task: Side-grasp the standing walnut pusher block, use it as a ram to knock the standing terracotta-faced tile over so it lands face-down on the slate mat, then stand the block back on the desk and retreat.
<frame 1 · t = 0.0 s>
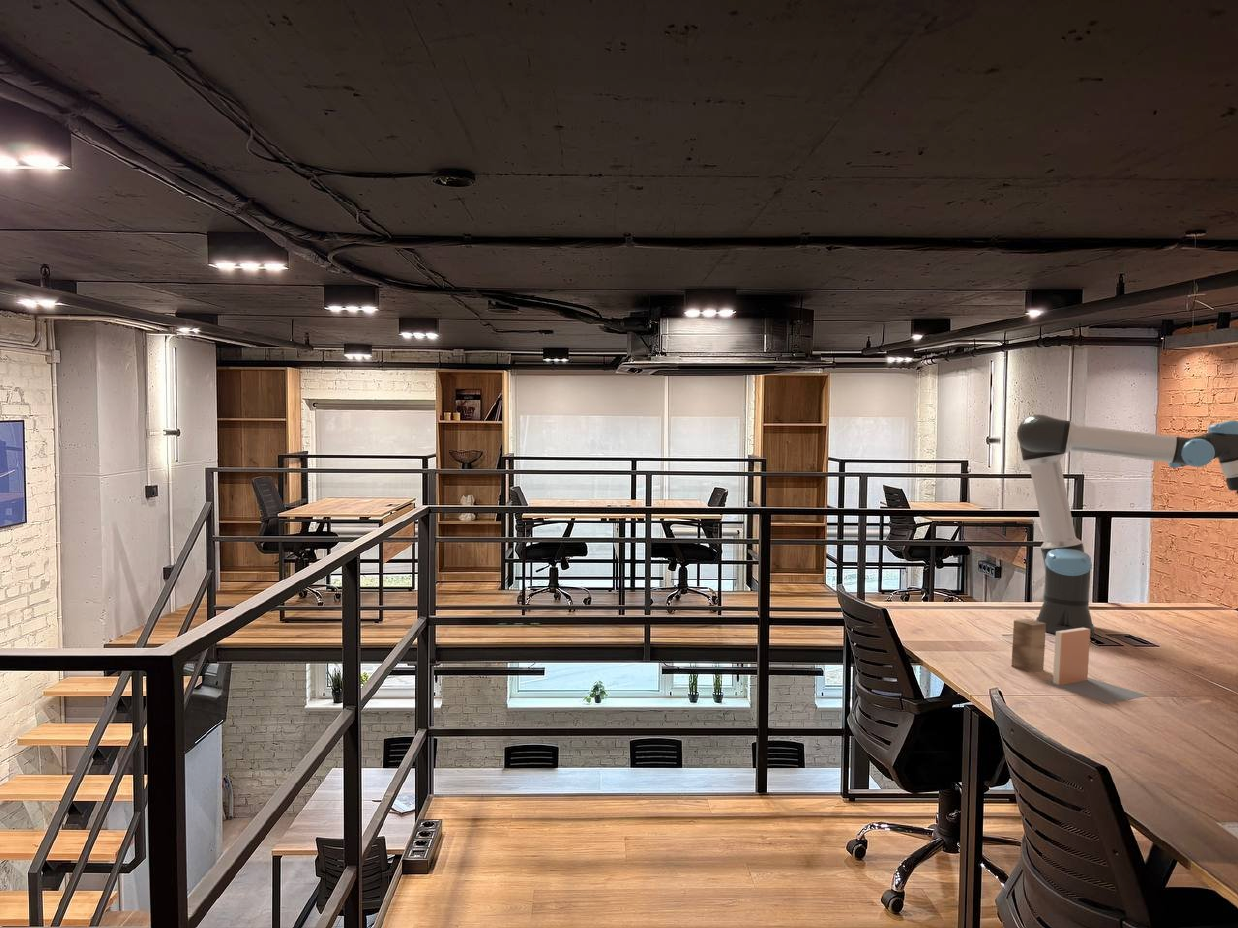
slate mat: (1094, 691, 185), on the table
tile: (1069, 681, 191), point 1 cm above the table, touching slate mat
walnut pusher block: (1027, 670, 200), on the table
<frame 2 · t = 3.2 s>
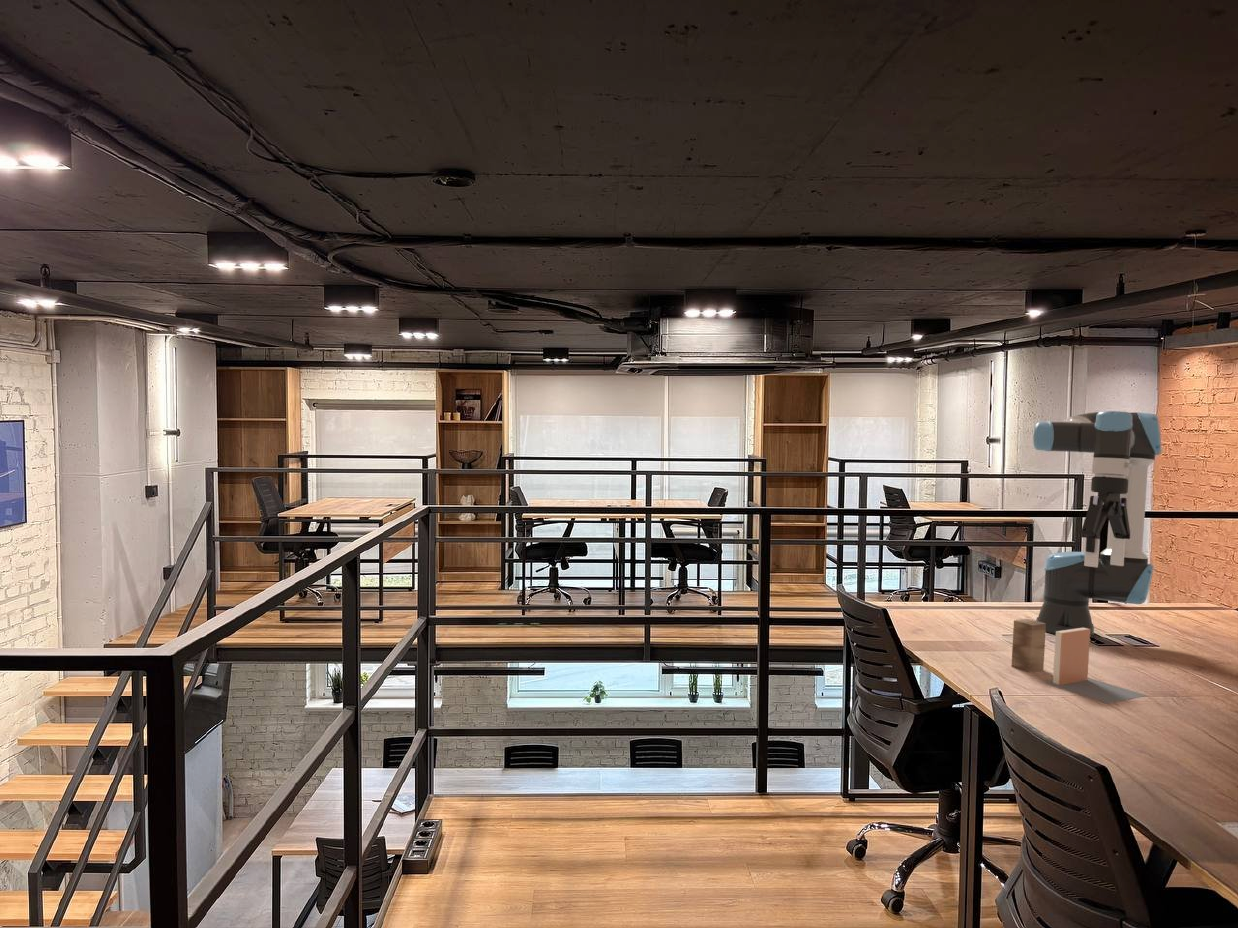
hand: (1104, 566, 195), 27 cm above the table, tool pointing down, fingers open, 13 cm apart
nothing on the table moved.
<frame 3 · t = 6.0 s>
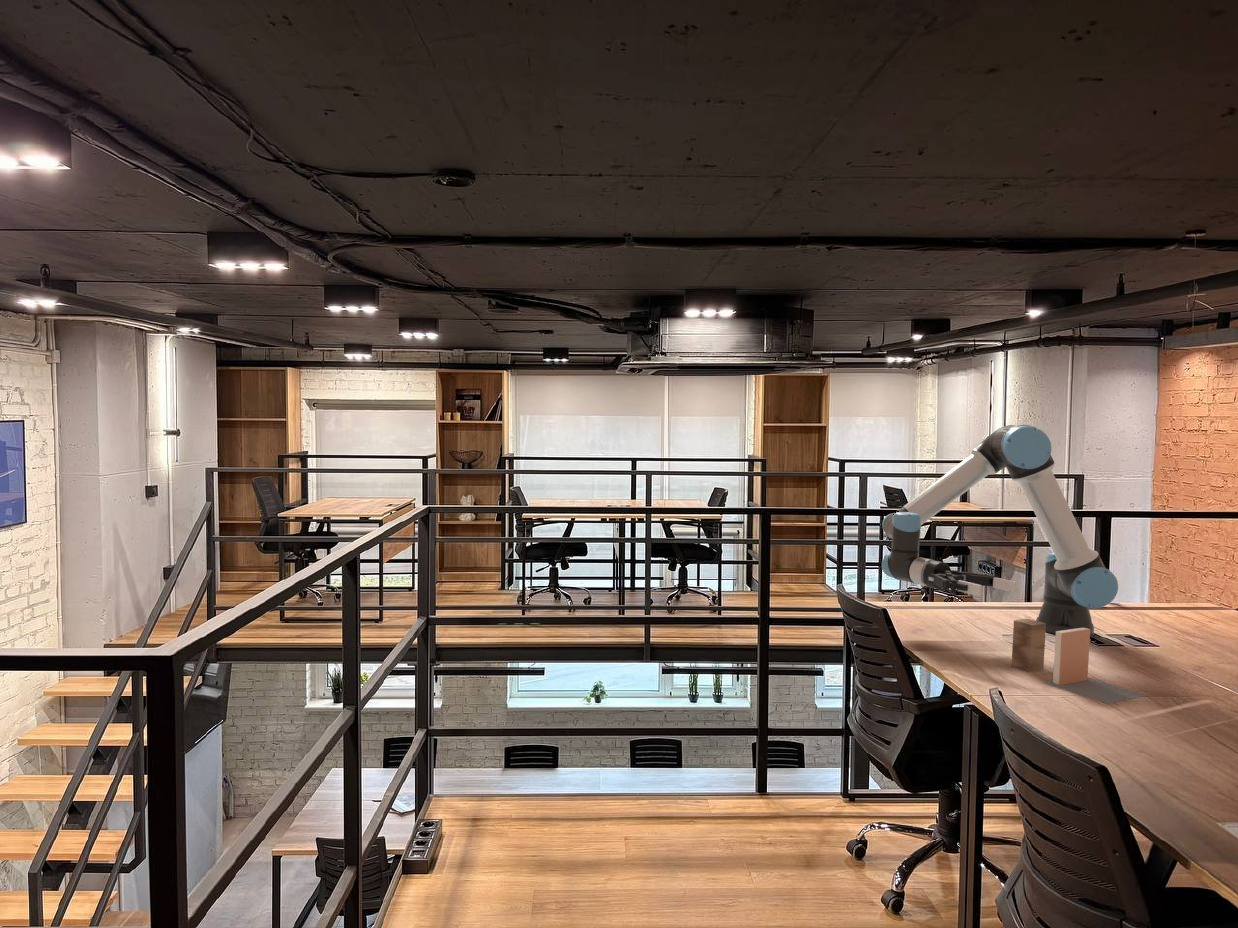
hand: (998, 588, 208), 18 cm above the table, tool horizontal, fingers open, 13 cm apart
nothing on the table moved.
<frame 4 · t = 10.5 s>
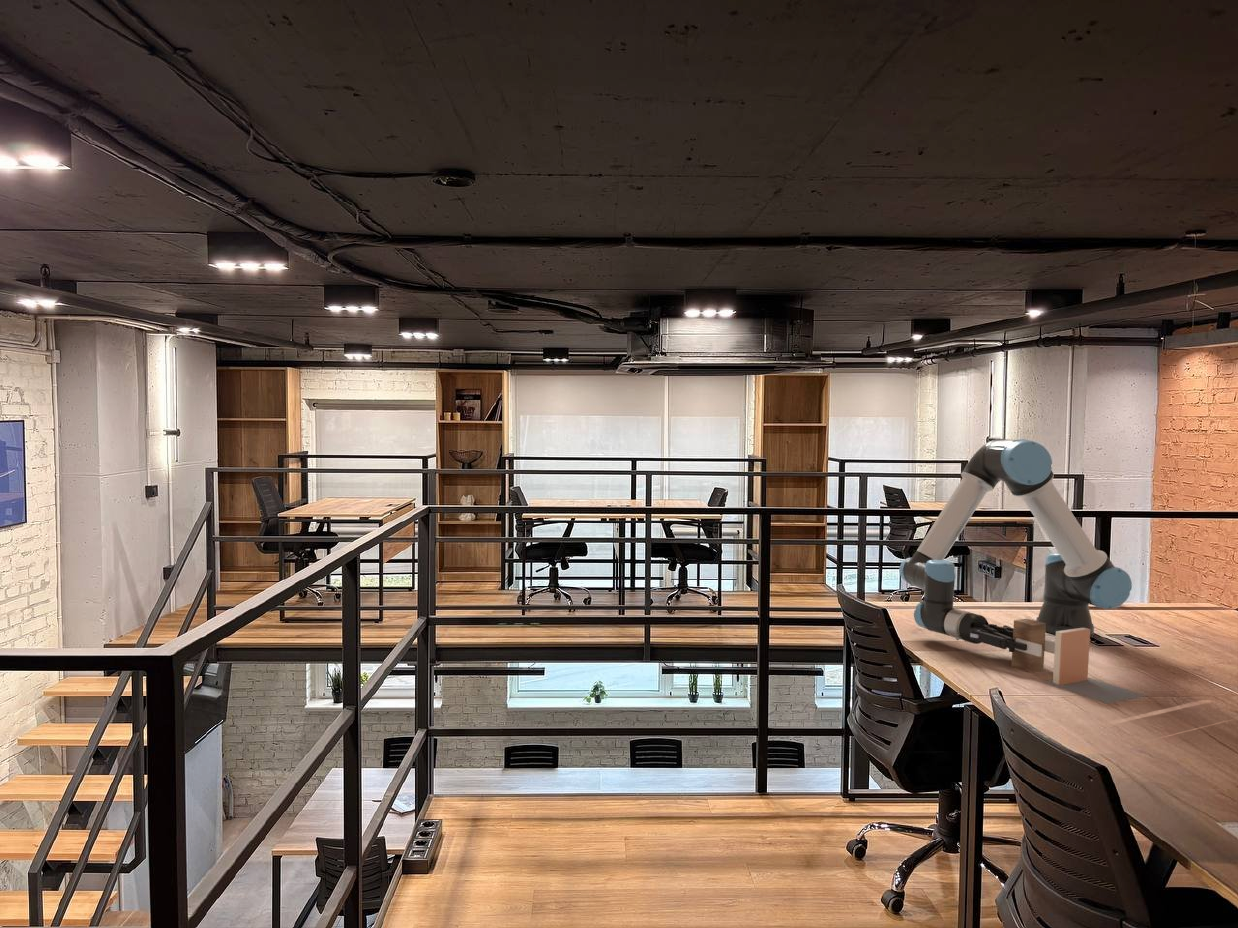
hand: (1048, 649, 195), 7 cm above the table, tool horizontal, fingers closed on walnut pusher block, 5 cm apart
walnut pusher block: (1027, 670, 200), on the table, touching gripper
everything else where it was.
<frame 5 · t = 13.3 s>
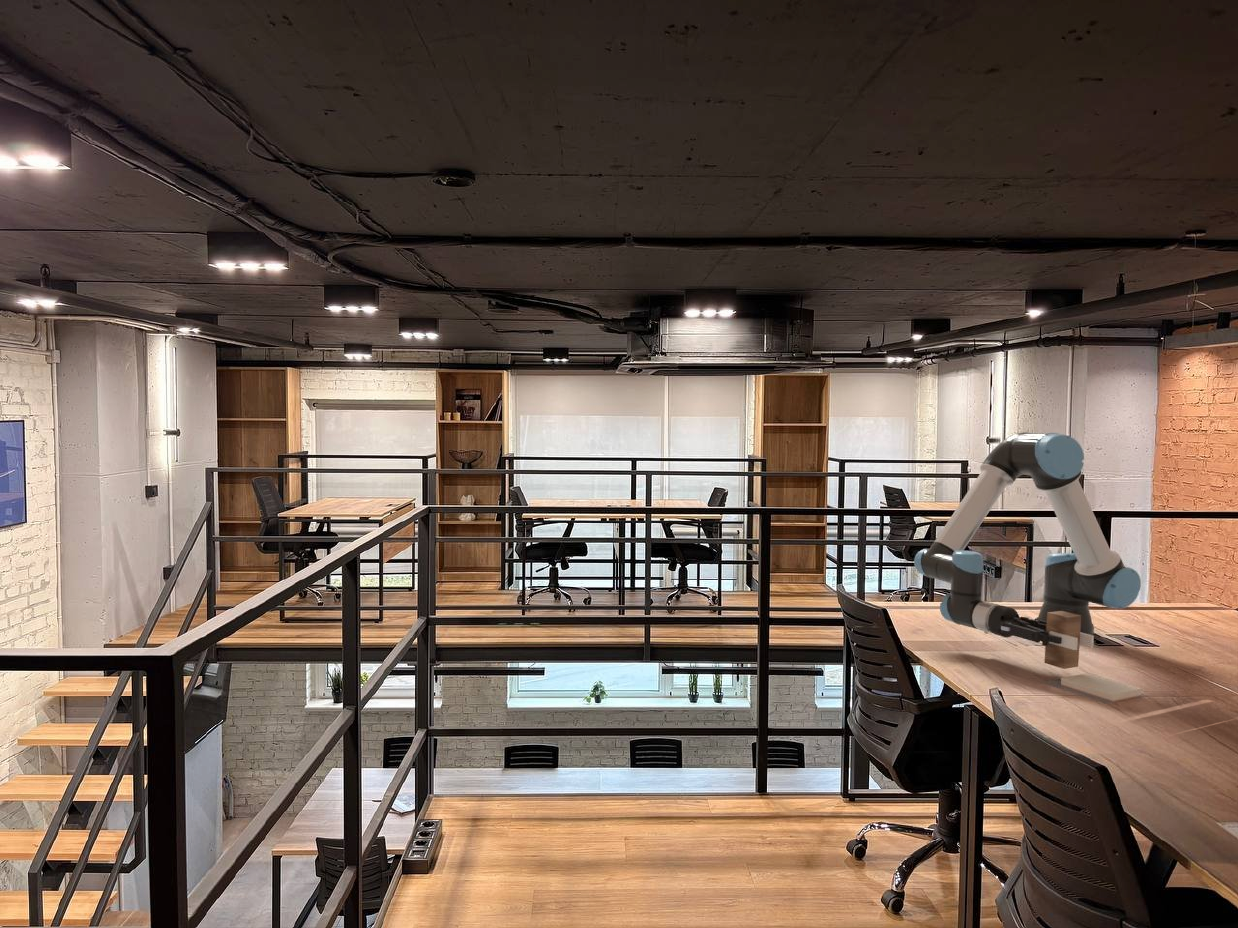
hand: (1084, 642, 187), 10 cm above the table, tool horizontal, fingers closed on walnut pusher block, 5 cm apart
tile: (1075, 678, 189), point 2 cm above the table, tilted 90°, touching slate mat
walnut pusher block: (1061, 664, 192), point 4 cm above the table, touching gripper
when the fingers open (8 cm above the table, at t = 16.5 s): walnut pusher block drops 2 cm, on the table.
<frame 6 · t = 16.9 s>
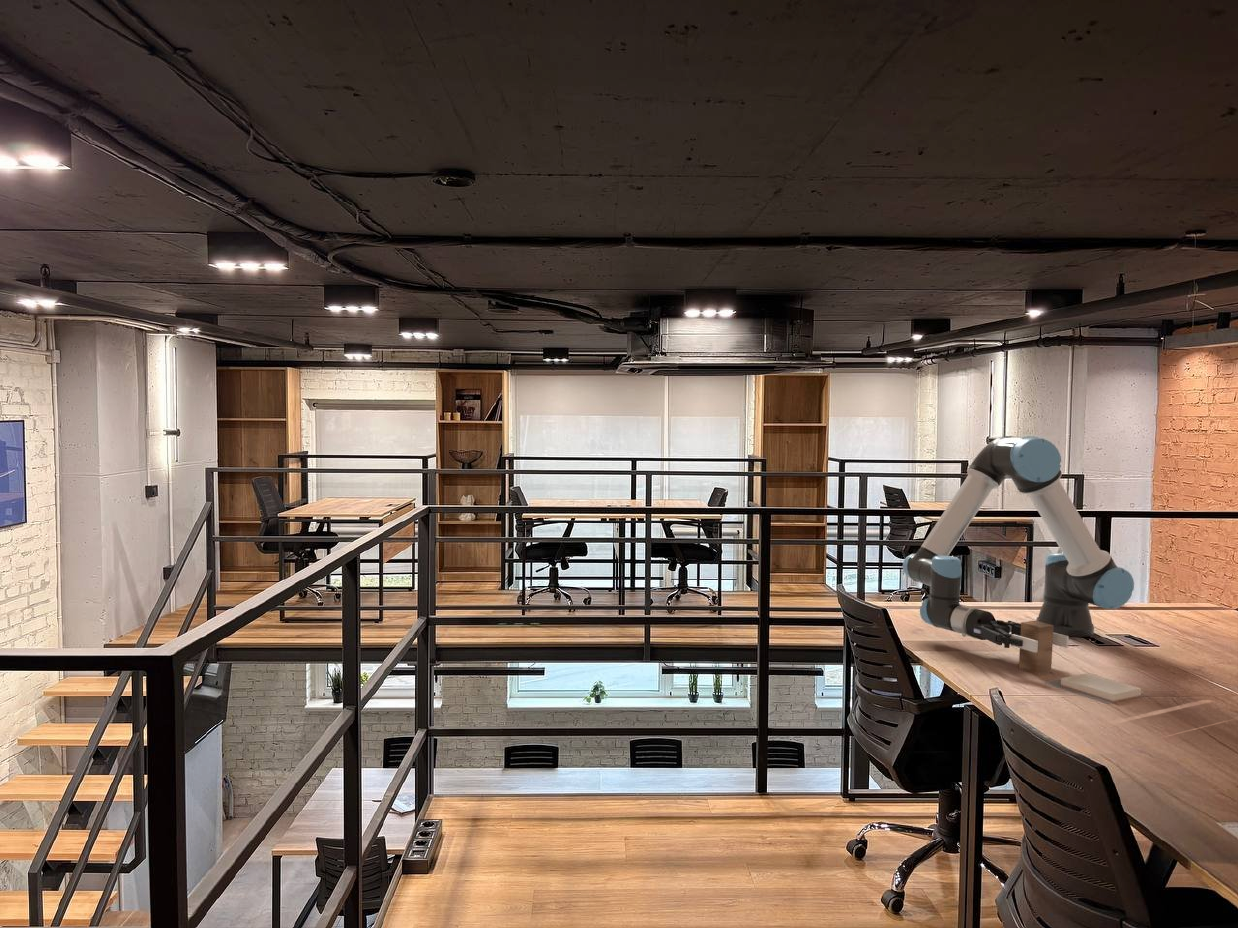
hand: (1052, 644, 194), 8 cm above the table, tool horizontal, fingers open, 10 cm apart
walnut pusher block: (1034, 672, 199), on the table
everything else where it was.
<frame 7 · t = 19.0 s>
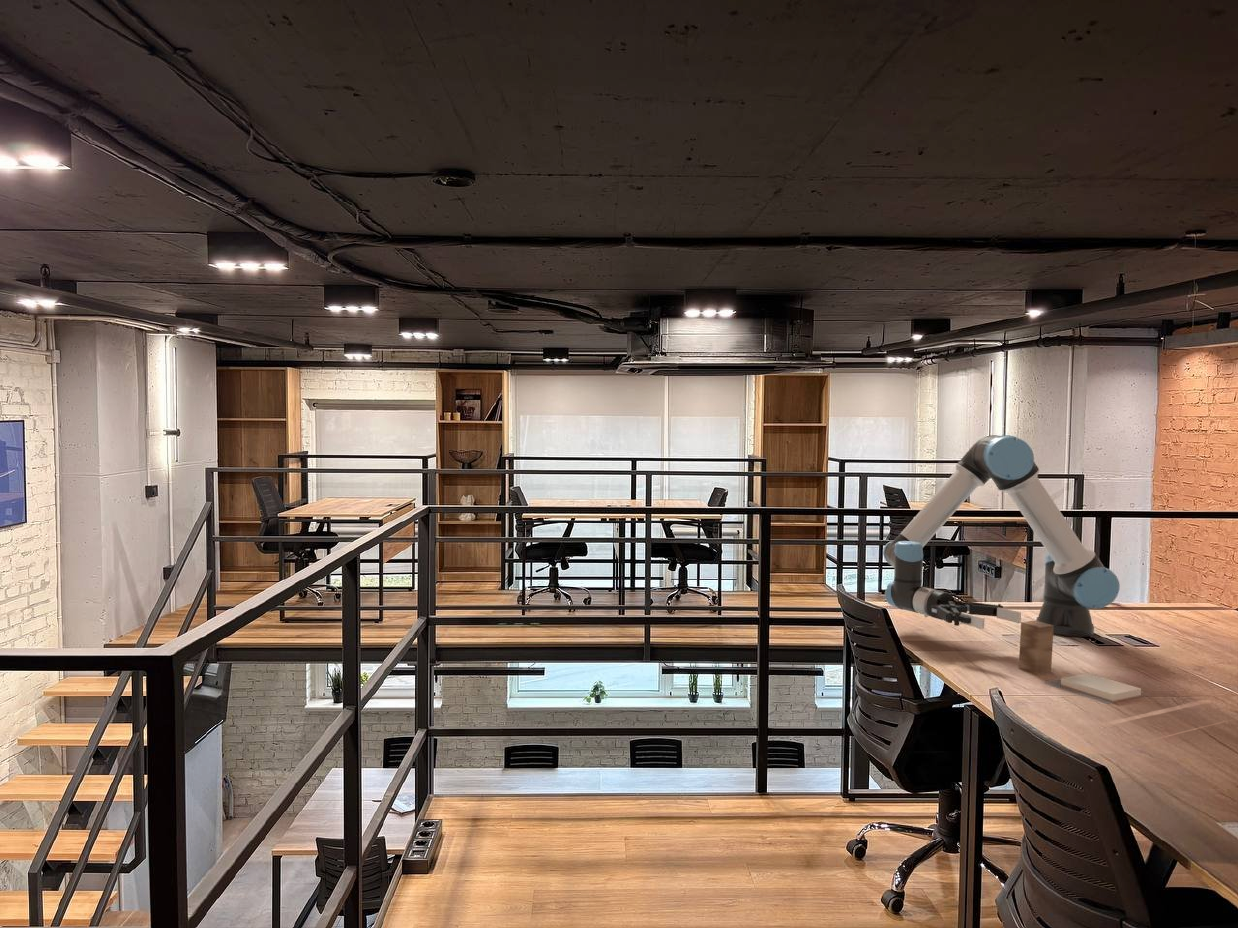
hand: (1002, 620, 207), 10 cm above the table, tool horizontal, fingers open, 13 cm apart
nothing on the table moved.
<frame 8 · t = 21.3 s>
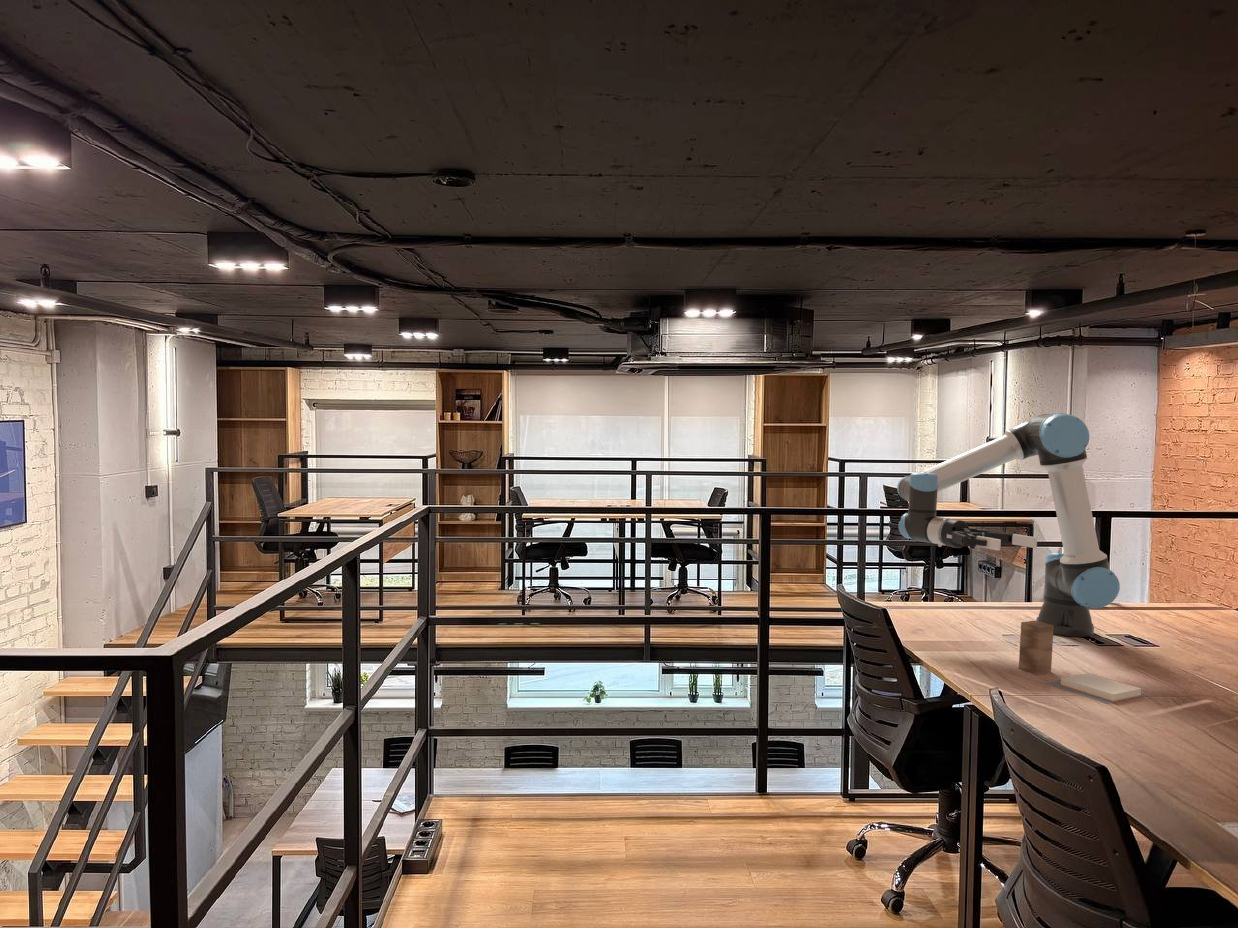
hand: (1018, 543, 206), 30 cm above the table, tool horizontal, fingers open, 13 cm apart
nothing on the table moved.
at the end: tile tilted 90°; walnut pusher block tilted 0°; the gripper is holding nothing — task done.
